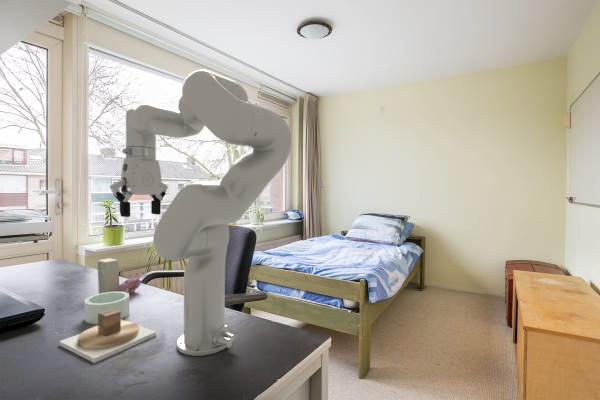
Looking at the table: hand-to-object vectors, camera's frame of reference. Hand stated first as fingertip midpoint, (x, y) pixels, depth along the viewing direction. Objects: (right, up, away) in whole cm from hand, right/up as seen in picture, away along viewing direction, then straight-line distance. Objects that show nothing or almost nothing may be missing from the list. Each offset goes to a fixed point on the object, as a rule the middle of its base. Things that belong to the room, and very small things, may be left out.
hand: (141, 215), depth 91 cm
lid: (-2, -29, -12) cm, 32 cm away
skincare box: (-22, -29, +22) cm, 42 cm away
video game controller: (-15, -29, +21) cm, 39 cm away
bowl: (-11, -30, +3) cm, 32 cm away
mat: (-2, -30, -12) cm, 33 cm away
